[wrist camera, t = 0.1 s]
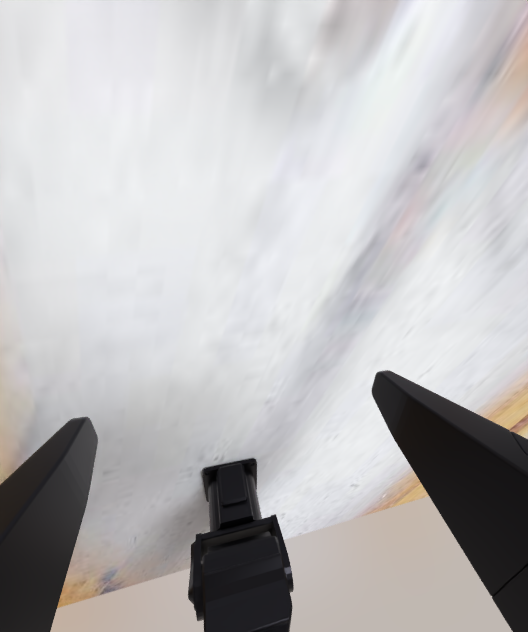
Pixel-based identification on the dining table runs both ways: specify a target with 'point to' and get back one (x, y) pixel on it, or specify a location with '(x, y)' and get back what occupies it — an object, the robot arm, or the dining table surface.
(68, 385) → the dining table surface
